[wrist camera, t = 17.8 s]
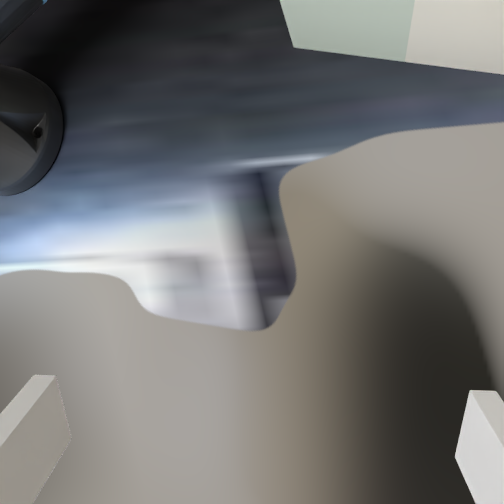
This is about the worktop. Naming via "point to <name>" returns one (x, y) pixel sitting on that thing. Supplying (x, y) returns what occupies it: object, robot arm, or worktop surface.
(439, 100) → the worktop surface
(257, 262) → the worktop surface
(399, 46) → the tall pale green block
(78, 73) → the worktop surface
